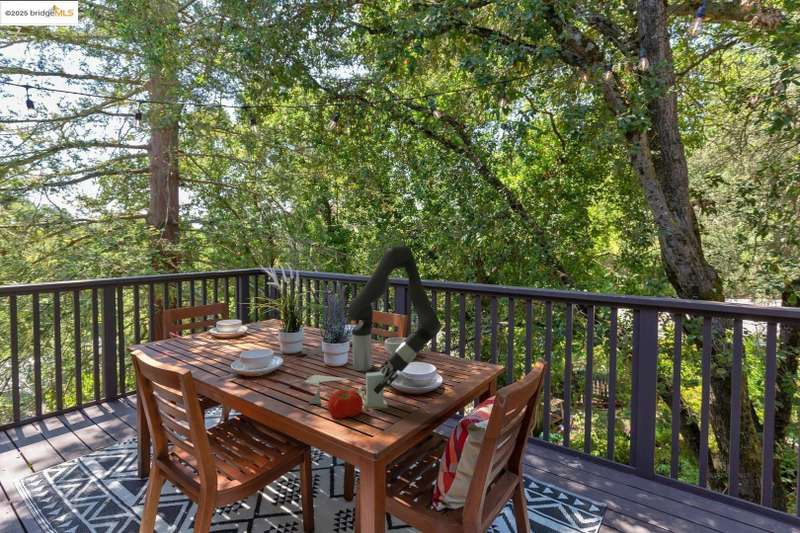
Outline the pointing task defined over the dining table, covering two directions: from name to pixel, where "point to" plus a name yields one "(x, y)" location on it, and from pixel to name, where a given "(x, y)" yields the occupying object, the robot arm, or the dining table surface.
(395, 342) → the paper bowls
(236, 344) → the dining table surface
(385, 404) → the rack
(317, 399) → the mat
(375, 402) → the pale green block
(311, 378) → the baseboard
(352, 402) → the tomato
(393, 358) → the robot arm
